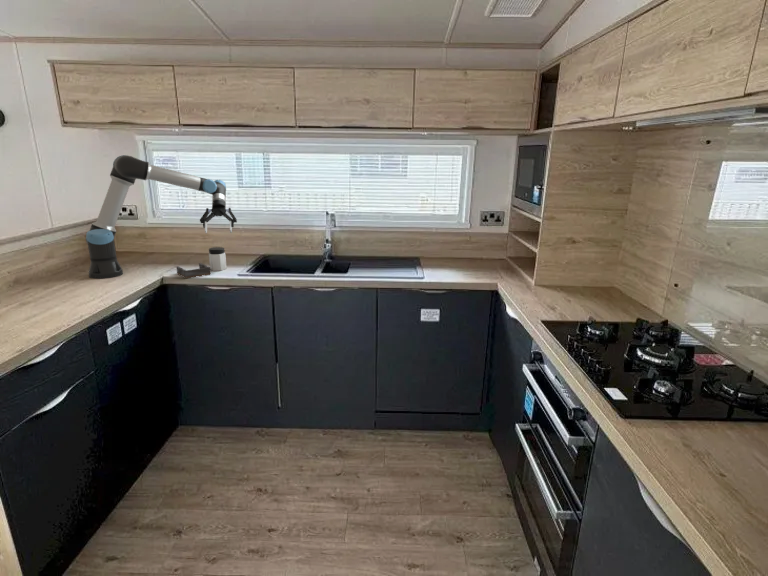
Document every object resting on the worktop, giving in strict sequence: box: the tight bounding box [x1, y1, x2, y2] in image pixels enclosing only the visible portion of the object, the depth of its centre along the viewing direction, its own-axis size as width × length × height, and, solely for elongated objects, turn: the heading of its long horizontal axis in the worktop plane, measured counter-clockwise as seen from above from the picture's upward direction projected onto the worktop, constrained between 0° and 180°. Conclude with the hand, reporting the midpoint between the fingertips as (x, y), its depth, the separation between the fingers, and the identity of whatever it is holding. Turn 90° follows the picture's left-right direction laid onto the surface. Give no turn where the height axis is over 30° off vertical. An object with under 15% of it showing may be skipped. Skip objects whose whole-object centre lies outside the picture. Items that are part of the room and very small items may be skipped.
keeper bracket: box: [176, 262, 212, 279], centre depth 231 cm, size 13×13×4 cm
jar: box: [208, 246, 227, 272], centre depth 242 cm, size 9×8×12 cm
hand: (218, 231), depth 248 cm, fingers open, 13 cm apart
